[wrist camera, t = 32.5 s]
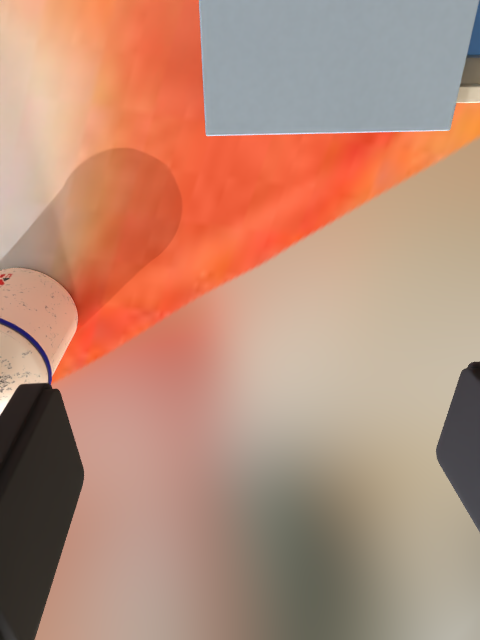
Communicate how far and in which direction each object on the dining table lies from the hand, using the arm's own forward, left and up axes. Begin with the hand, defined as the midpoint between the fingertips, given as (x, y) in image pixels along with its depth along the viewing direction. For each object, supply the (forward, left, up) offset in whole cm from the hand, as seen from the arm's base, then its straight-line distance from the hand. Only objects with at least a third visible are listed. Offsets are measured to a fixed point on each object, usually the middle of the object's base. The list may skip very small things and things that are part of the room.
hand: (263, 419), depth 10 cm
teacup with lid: (+12, -19, -26) cm, 35 cm away
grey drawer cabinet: (-10, +6, -26) cm, 29 cm away
